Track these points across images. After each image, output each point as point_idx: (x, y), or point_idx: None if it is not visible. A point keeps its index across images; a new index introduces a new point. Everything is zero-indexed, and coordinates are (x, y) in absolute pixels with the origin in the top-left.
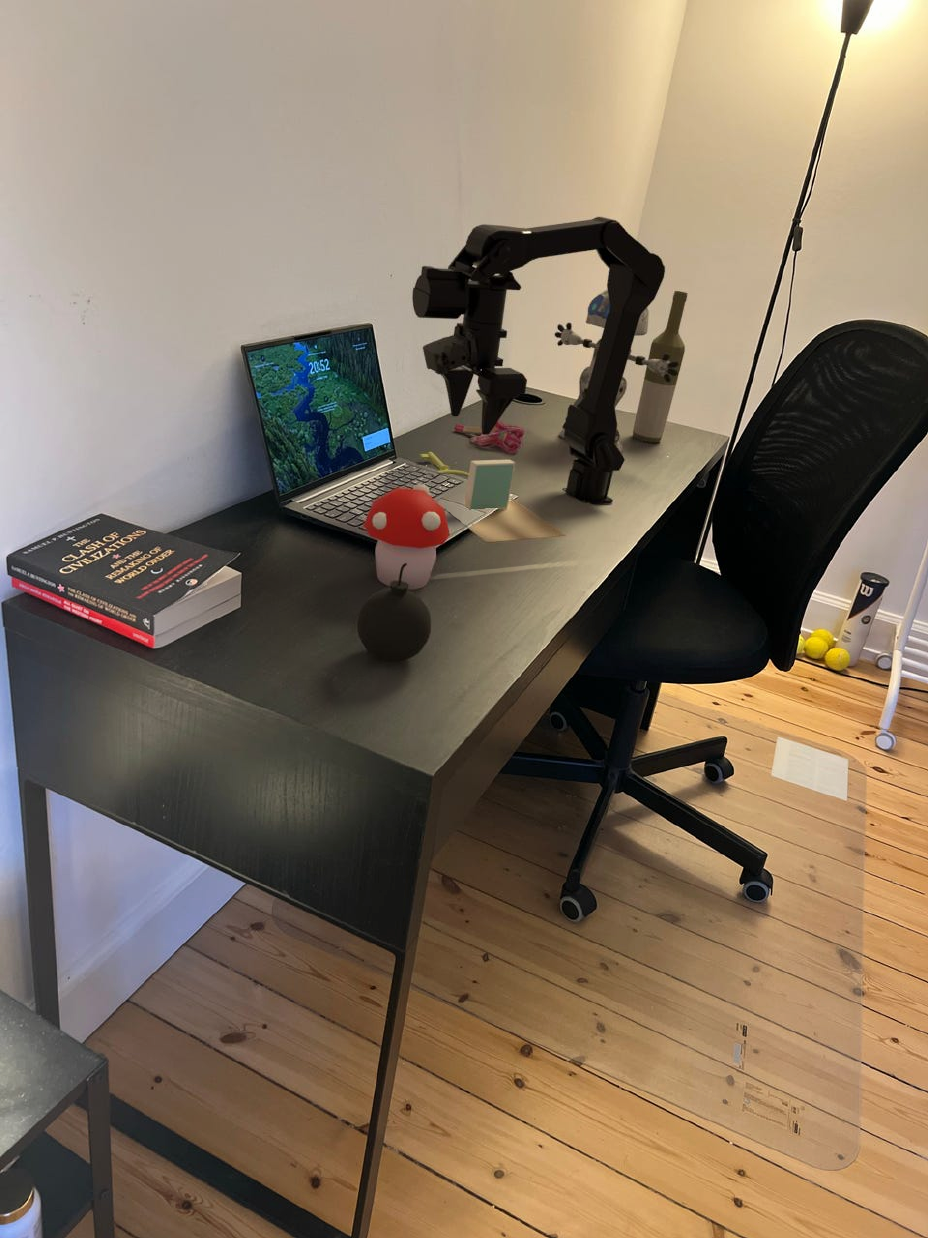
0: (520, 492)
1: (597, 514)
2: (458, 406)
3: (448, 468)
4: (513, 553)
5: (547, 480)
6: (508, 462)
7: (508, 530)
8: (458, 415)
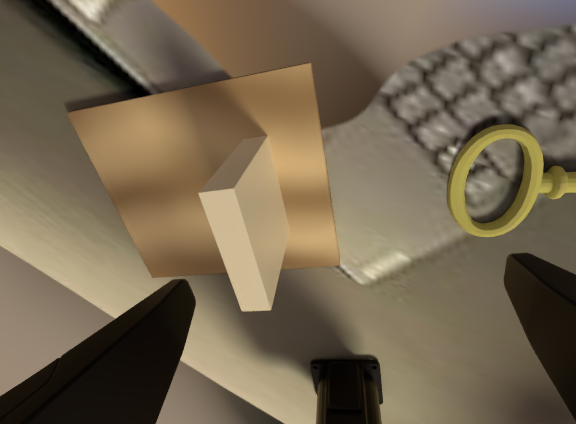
0: (383, 297)
1: (273, 360)
2: (537, 324)
3: (550, 194)
4: (58, 157)
5: (441, 364)
6: (241, 296)
7: (146, 187)
8: (504, 285)
